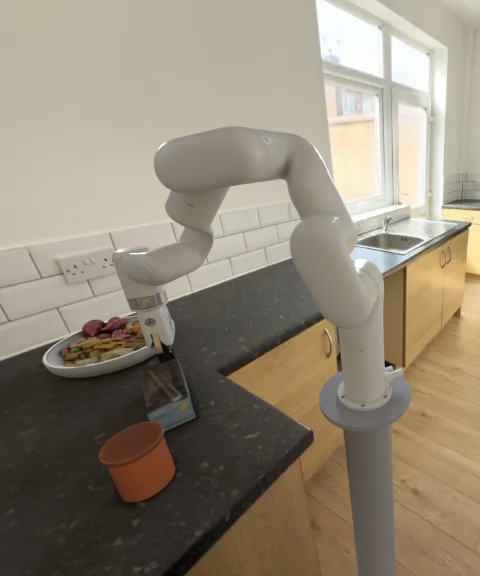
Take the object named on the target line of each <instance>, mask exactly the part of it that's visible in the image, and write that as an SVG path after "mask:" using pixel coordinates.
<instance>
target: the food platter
mask: <svg viewBox="0 0 480 576" xmlns="http://www.w3.org/2000/svg"><path fill="white" fill-rule="evenodd" d="M138 320H139V319H138V316H137V315H132V316H131V315H130V316H126V317H120V316H113V317H111V318H109V319H108V321H105V322H104V320H101V319H91V320H89V321H88V322H86V323H84V324H83V325H82V328H81V330H79V331H77V332H75V333H73V334H70V335H68V336H67V337H64V338H62V339H61V340H58V342H56V343H54V344H53V345H52V346H51V347H49V348H48V349H47V351H46V352H44V354H43V356H42V363H43V365H44V367H45V369H47V371H49V372H50V373H52V374H53V375H55V376H58V377H63V378H70V379H86V378H94V377H100V376H104V375H108V374H112V373H115V372H120V371H123V370H126V369H128V368H131V367H133V366H135V365H138V364H141V363H142V362H144V361H146V360H148V359H150V358H152V357H154V356H155V355H157V353H156V350H155V348H154V347H153V350H150V349H149V348H148V346H147V344H146V341H145V339H144V336H143V333H142V330H141V326H140V323H139V321H138ZM172 322H173V325H174V328H175V329H176V325H175V322H174V320H173V319H172Z"/></svg>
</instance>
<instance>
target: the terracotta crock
mask: <svg viewBox="0 0 480 576" xmlns="http://www.w3.org/2000/svg"><path fill="white" fill-rule="evenodd" d="M98 460H99V461H100V464H101V465H102V466H103V467H105V468H106V470H107V472H108V474H109V476H110V478H111V480H112V482H113V484H114V486H115V488H116V490H117V491H118V494H119V497H120V498H121V500H123V501H124V502H127V503H137V502H138V503H139V502H141V501H145V500H147V499H150V498H151V497H153V496H155V495H157V494H158V493H159V492H160V491H162V490H163V489H164V488H165V487H166V486H167V485H168V484H169V483H170V482H171V481H172V479H173V478H174V476H175V473H176V464H175V461H174V458H173V456H172V453H171V450H170V448H169V445H168V443H167V440H166V437H165V432H164V429H163V426H162V425H161V424H160V423H158V422H153V421H149V420H148V421H141V422H139V423H138V422H137V423H135V424H133V425H130V426H127V427H126V428H124V429H122V430H120V431H119V432H116V433H115V434H114V435H113V436H111V437H110V438H109V439H108V440H107V441H106V442H105V443H104V444H103V445H102V447H101V448H100V450H99V452H98Z"/></svg>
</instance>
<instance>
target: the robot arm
mask: <svg viewBox="0 0 480 576" xmlns="http://www.w3.org/2000/svg"><path fill="white" fill-rule="evenodd" d="M153 169H154V173H155V175H156V177H157V179H158V181H159V182H160V183H161V184H162V185H163V186H164V187H165V188H166V189H168V190H170V191H169V194H168V197H167V199H166V201H165V203H164V209H165V212H166V214H167V216H168V217H169V218H170V219H171V220H172V221H173V222H175V223H177V224H178V225H180V226H182V227H184V228H183V230H182V232H181V235H180V237H179V238H178V240H177V242H173V243H170V244H166V245H164V246H160V247H157V248H154V249H151V248H150V247H149V246H143V245H137V246H128V247H123V248H119V249H117V250H115V251H114V252H113V253H112V254H111V260H112V263H113V266H114V269H115V271H116V275H117V277H118V280H119V283H120V285H121V288H122V292H123V294H124V296H125V299H126V303H127V305H128V308H129V311H130V312H134V313H136V316H138V319H139V320H138V321H139V323H140V326H141V330H142V333H143V336H144V339H145V341H146V344H147V346H148V348H149V349H150V350H153V347H154V348H155V350H156V356H157V359H158V361H159V363H161V362H165V361H168V360H171V359H174V358H177V357H176V354H175V350H174V348H173V347H172V345H173V344H174V341H175V335H176V327H175V328H174V325H175V324H174V325H173V322H174V321H173V322H172V320H173V319H172V317H171V314H170V312H169V308H168V306H167V304H168V303H169V299H168V295H167V292H166V289H165V286H164V285H166V284H169V283H171V282H174V281H175V280H179V279H180V278H182V277H184V276H186V275H189V274H191V273H193V272H196V271H197V270H198V269H199V268H200V267H202V265H203V263H205V261H206V259H207V257H208V256H209V254H210V252H211V250H212V248H213V246H214V241H215V236H214V235H215V234H214V227H213V225H212V223H213V221H214V219H215V217H216V215H217V213H218V211H219V209H220V207H221V206H222V203H223V201H224V200H225V198H226V196H227V194H228V192H229V190H230V188H231V187H236V186H243V185H250V184H255V183H256V184H257V183H263V182H269V181H277V180H282V181H285V183H286V187H287V191H288V195H289V199H290V201H291V204H292V206H293V208H294V209H295V211H296V212H297V214H298V216H299V219H300V221H299V223H298V224H296V226H294V228H293V229H292V232H291V234H290V236H289V252H290V257H291V259H292V262H293V265H294V267H295V268H296V271H297V273H298V274H299V276H300V278H301V280H302V282H303V283H304V285H305V287H306V289H307V291H308V293H309V294H310V296H311V298H312V300H313V302H314V304H315V306H316V307H317V309H318V311H319V312H320V314H321V315H322V317H323V318H324V320H326V321H327V322H328V323H330V325H332V326H334V327H336V328H338V339H339V351H340V361H341V371H342V372H343V381H342V382H341V384H340V385H339V387H338V391H337V392H338V399H339V401H340V403H341V404H342V405H343V406H345V407H346V408H348V409H350V410H354V411H361V412H362V411H371V410H375V409H378V408H380V407H382V406H383V405H385V404H386V403H387V402H388V401H389V399H390V398H391V395H392V385H391V382H392V381H393V379H397V378H400V377H402V376H403V377H404V376H405V374H404V370H403V369H402V368H398V369H394V367H393V365H390V366H386V365H385V340H384V338H385V337H384V335H385V333H384V302H385V301H384V299H385V298H384V297H385V281H384V277H383V274H382V271H381V270H380V269H379V267H378V266H377V265H376V264H375V263H373V262H372V261H371V260H369V259H364V258H356V259H352V257H351V256H350V255H351V254H352V252H354V250H355V248H356V246H357V244H358V239H359V238H358V237H359V235H358V231H357V228H356V225H355V224H354V221H353V219H352V216H350V213H349V211H348V209H347V207H346V204H345V203H344V201H343V199H342V196H341V195H340V194H341V193H340V192H339V190H338V189H337V186H336V184H335V182H334V180H333V178H332V177H331V176H332V175H331V174H330V171H329V170H328V167H327V165H326V162H325V161H324V159H323V157H322V155H321V154H320V152H319V151H318V150H317V148H316V146H314V145H313V144H312V143H311V141H309V140H307V139H306V138H304V137H302V136H300V135H299V134H295V133H290V132H283V131H275V130H266V129H261V128H253V127H247V126H246V127H245V126H236V125H235V126H234V125H233V126H230V125H229V126H222V127H218V128H213V129H209V130H205V131H201V132H197V133H192V134H189V135H183V136H180V137H175V138H171V139H169V140H167V141H165V142H164V143H162V144H161V145H160V146H159V147H158V149H156V152H155V154H154V157H153ZM385 367H386V368H385ZM393 370H394V371H393ZM392 371H393V372H392ZM390 372H391V373H390Z"/></svg>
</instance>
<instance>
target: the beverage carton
mask: <svg viewBox="0 0 480 576" xmlns="http://www.w3.org/2000/svg"><path fill="white" fill-rule="evenodd" d="M141 376H142V377H141V379H142V389H143V397H144V404H145V405H144V406H145V412H146V413H145V414H146V417H147V419H148V422H149V421H153V422H158V423H160V424H161V425H162V426H163V429H164V433H165V432H167V431H170V430H171V429H174V428H176V427H178V426H180V425H182V424H185V423H187V422H189V421H192V420H194V419H196V418H197V415H196V412H195V409H194V406H193V402H192V399H191V395H190V390H189V387H188V384H187V379H186V376H185V373H184V371H183V368H182V365H181V363H180V360H179V358H178V357H176V358H174V359H171V360H168V361H165V362H161V363H160V362H159V363H156V364H154V365H151V366H148V367H147V366H146V367H144V368H142V369H141Z"/></svg>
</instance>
